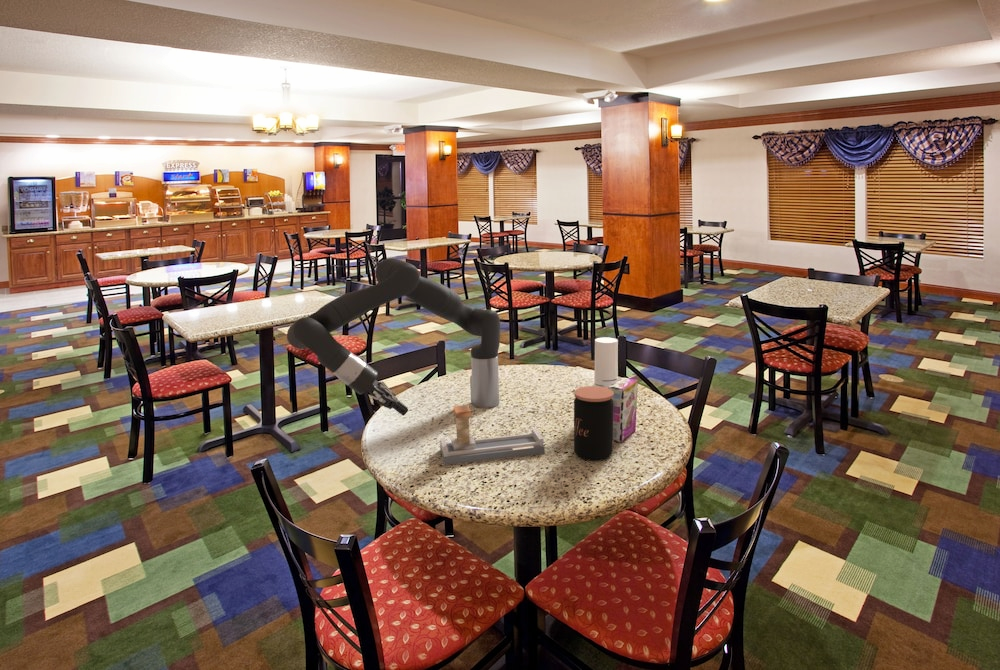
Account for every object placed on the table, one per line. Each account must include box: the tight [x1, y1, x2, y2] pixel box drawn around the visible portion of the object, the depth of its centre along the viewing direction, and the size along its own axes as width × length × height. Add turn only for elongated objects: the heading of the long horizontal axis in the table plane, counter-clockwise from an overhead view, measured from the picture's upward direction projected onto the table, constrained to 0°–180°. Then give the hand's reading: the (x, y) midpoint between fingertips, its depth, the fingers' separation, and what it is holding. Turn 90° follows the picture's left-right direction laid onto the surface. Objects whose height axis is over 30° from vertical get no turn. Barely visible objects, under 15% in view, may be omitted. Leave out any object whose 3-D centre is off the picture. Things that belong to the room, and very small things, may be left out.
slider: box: [450, 404, 476, 451], centre depth 167 cm, size 6×5×12 cm
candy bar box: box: [608, 377, 639, 443], centre depth 178 cm, size 11×5×16 cm, turn 145°
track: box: [439, 427, 546, 466], centre depth 170 cm, size 28×10×4 cm, turn 102°
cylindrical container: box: [593, 336, 619, 388], centre depth 193 cm, size 7×7×25 cm
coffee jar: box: [573, 385, 614, 462], centre depth 166 cm, size 11×11×18 cm
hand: (405, 412), depth 162 cm, fingers closed
